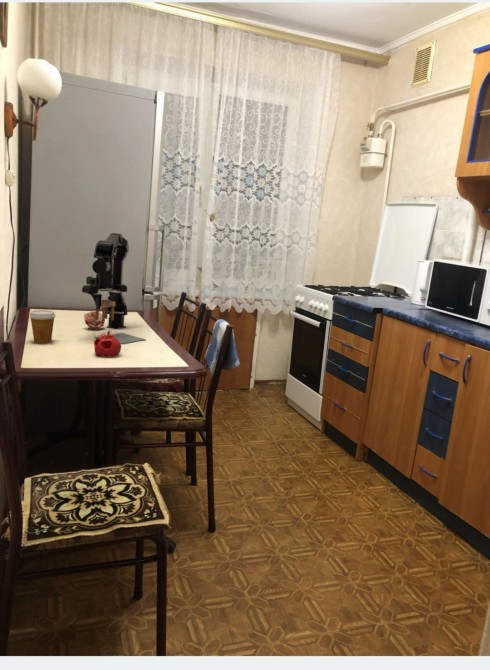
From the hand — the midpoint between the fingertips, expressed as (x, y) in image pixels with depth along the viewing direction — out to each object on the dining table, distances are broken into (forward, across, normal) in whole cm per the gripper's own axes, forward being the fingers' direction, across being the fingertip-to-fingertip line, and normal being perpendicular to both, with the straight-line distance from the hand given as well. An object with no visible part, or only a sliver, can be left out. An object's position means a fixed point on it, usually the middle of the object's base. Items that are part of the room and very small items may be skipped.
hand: (104, 309), depth 213 cm
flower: (+13, -7, -17) cm, 22 cm away
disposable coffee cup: (+13, +24, -7) cm, 28 cm away
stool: (+4, 0, 0) cm, 4 cm away
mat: (+12, -4, +5) cm, 14 cm away
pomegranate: (+13, +15, +23) cm, 30 cm away
